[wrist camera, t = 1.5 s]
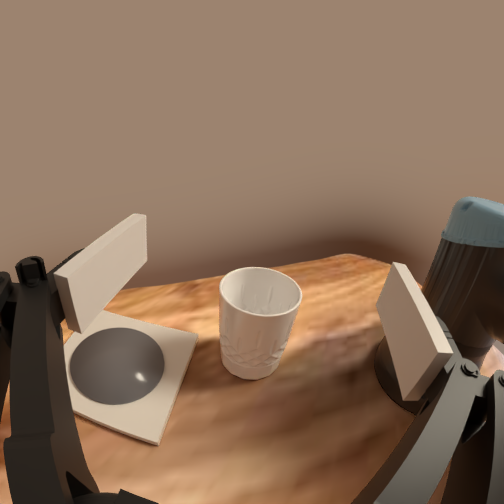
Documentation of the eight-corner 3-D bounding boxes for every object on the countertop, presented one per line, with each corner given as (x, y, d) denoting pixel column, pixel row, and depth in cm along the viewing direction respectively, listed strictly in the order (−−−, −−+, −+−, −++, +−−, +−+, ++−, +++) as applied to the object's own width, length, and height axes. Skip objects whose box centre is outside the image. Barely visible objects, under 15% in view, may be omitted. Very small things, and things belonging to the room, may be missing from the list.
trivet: (198, 338, 34) (198, 332, 33) (158, 445, 21) (156, 441, 20) (95, 312, 35) (93, 305, 34) (35, 392, 22) (31, 386, 21)
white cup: (263, 328, 37) (275, 262, 32) (296, 371, 31) (318, 303, 26) (205, 343, 34) (207, 273, 29) (232, 393, 28) (241, 325, 23)
